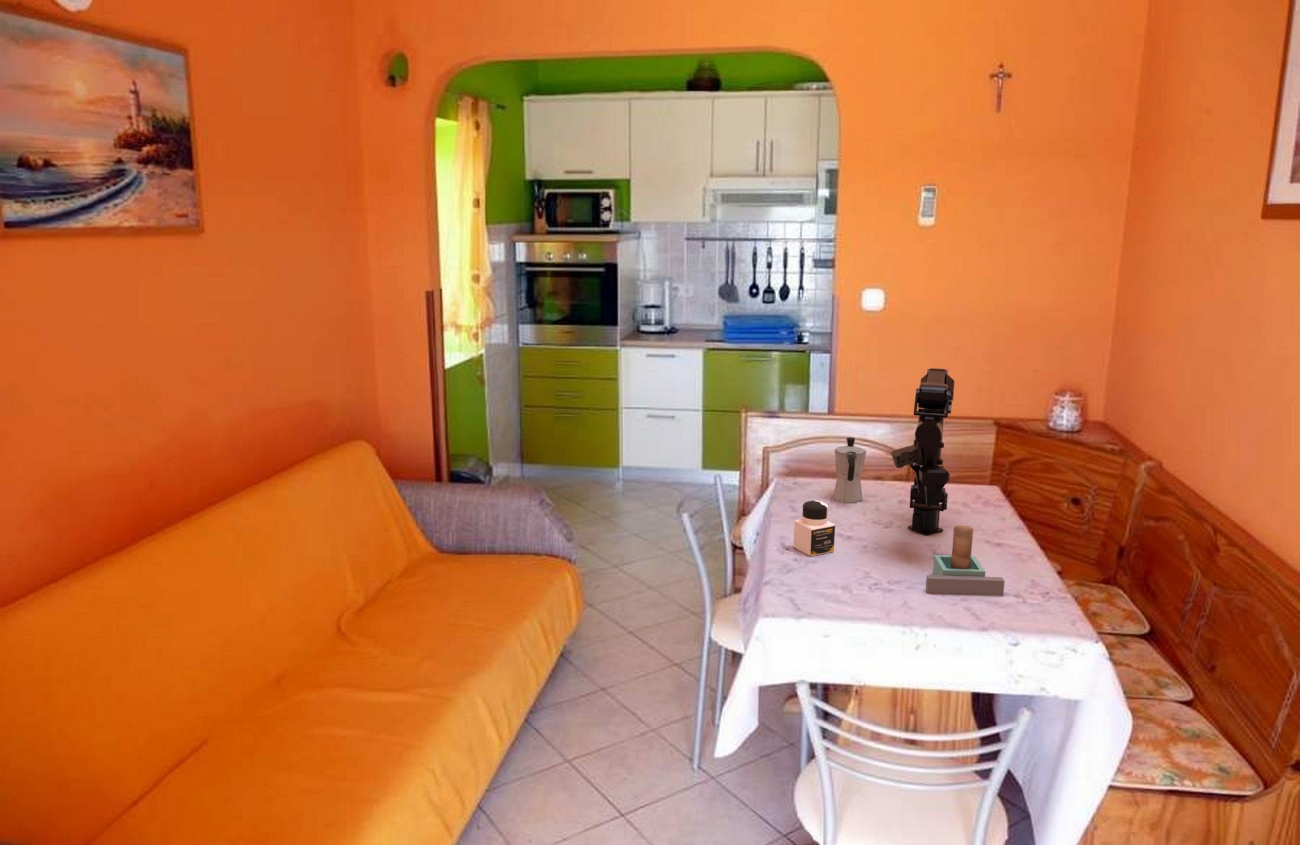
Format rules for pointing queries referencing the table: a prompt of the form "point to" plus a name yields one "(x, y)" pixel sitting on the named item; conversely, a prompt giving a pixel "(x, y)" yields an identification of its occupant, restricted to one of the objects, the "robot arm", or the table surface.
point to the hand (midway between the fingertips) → (925, 500)
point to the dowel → (962, 547)
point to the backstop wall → (965, 585)
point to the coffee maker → (849, 472)
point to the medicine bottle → (814, 530)
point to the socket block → (944, 568)
